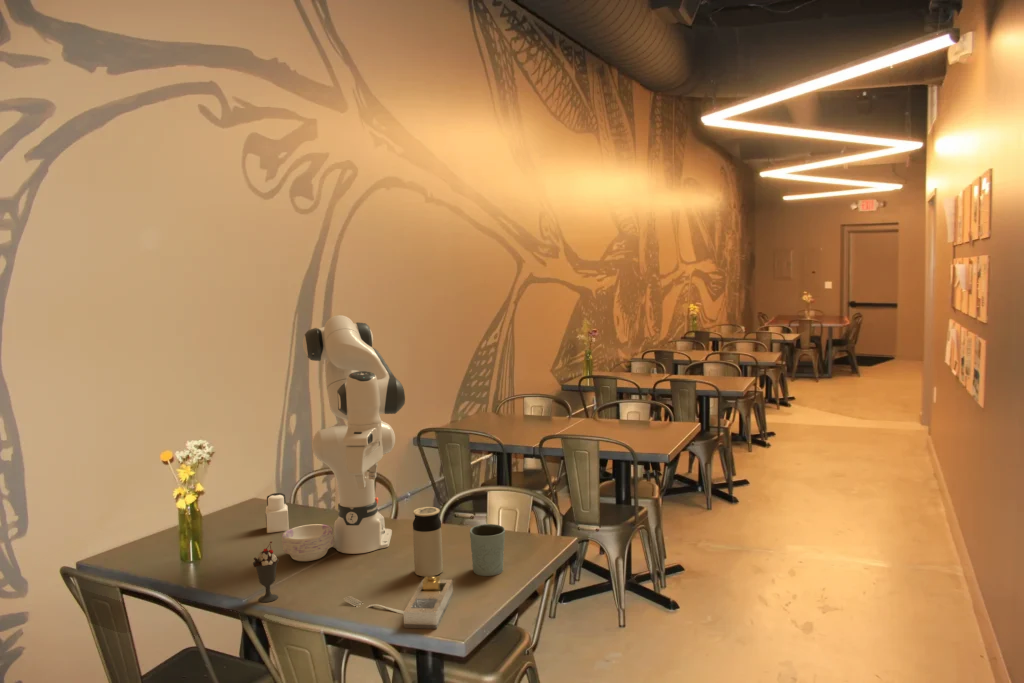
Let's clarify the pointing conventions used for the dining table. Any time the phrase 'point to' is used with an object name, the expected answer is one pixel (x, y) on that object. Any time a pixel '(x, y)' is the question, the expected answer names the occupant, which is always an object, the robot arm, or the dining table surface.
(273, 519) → the medicine bottle
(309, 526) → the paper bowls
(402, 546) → the dining table surface
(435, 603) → the tan windowed box
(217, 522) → the dining table surface
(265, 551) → the sundae
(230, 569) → the dining table surface
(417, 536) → the travel mug
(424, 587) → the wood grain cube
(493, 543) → the green cup
